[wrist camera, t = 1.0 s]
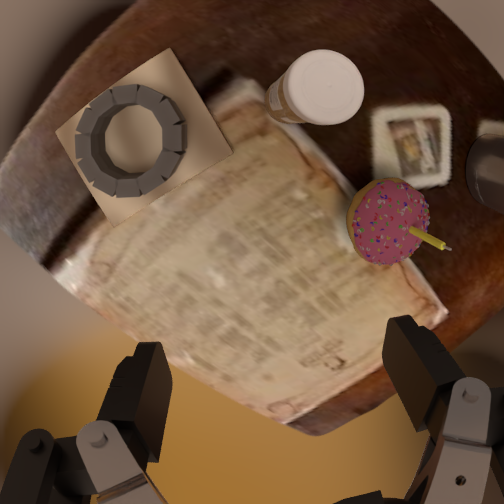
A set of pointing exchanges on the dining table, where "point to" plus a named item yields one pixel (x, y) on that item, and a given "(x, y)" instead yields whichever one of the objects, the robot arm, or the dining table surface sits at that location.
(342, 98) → the sprinkles bottle
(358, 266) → the dining table surface
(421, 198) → the cupcake
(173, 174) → the ring holder
